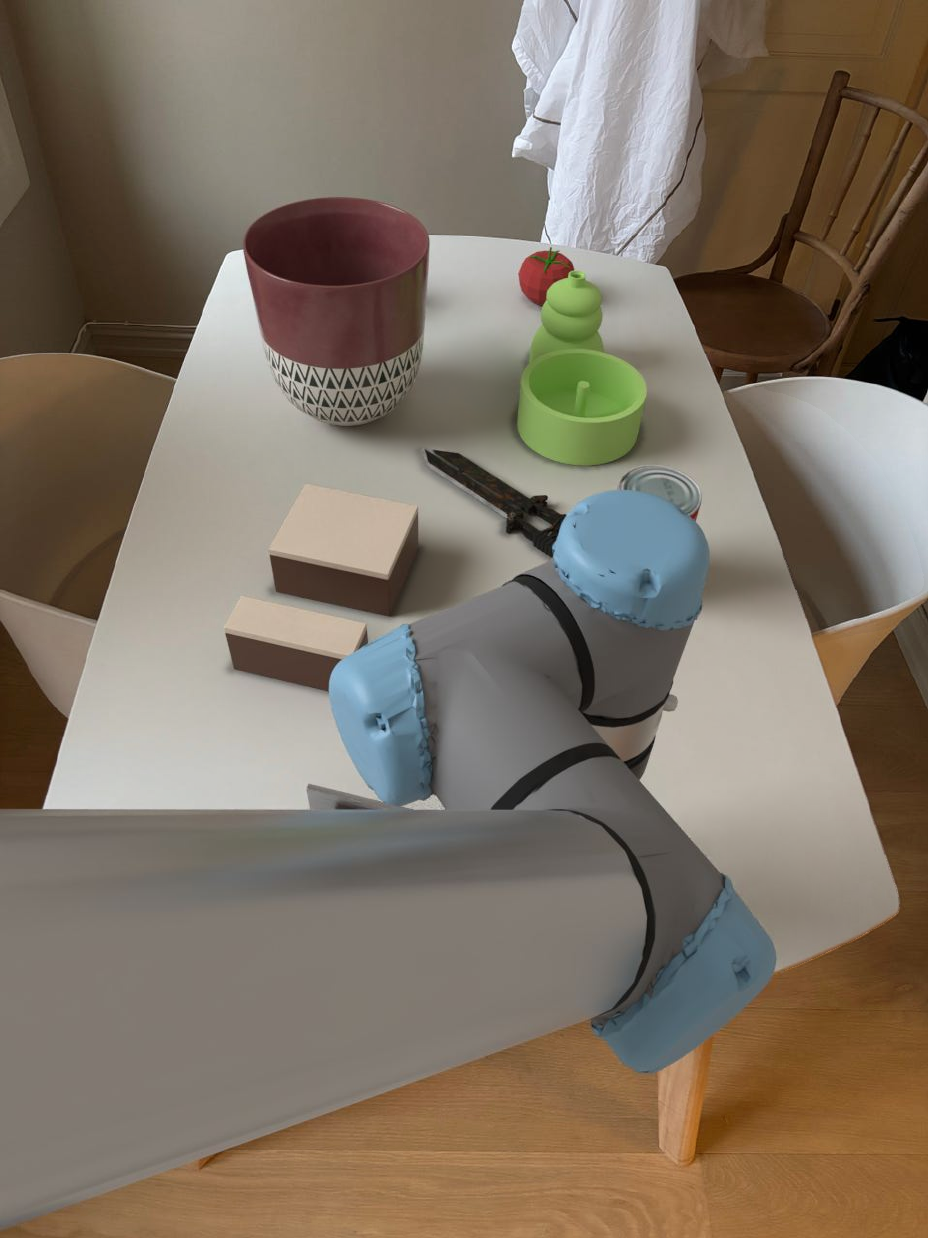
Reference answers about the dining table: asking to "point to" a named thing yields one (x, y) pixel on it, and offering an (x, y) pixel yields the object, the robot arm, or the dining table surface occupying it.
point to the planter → (340, 304)
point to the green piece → (577, 383)
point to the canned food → (665, 486)
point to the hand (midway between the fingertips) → (554, 890)
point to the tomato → (542, 273)
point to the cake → (345, 549)
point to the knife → (498, 497)
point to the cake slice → (290, 641)
